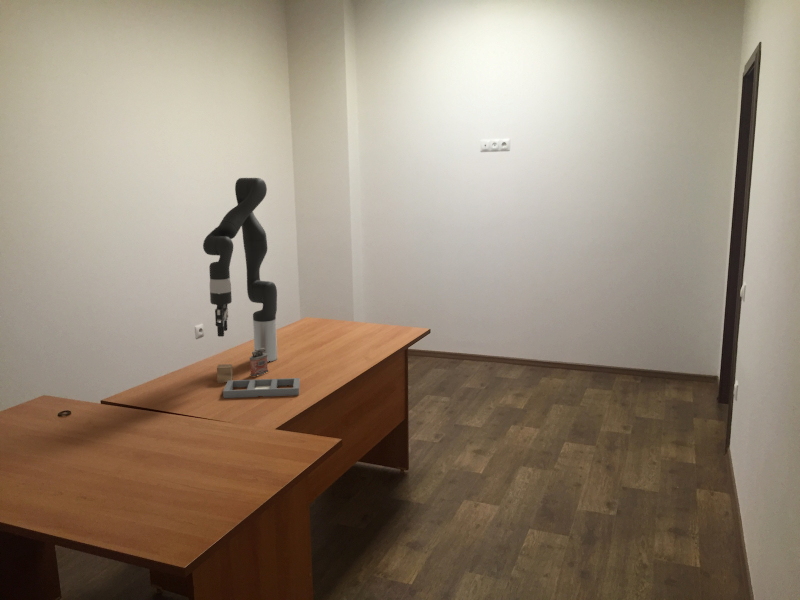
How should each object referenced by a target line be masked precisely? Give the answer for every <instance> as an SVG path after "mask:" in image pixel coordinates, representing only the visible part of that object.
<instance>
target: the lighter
mask: <svg viewBox="0 0 800 600" xmlns="http://www.w3.org/2000/svg"><path fill="white" fill-rule="evenodd" d="M265 351H266V350H265V348H262V349H260V350H258V349H256V350H255V351H254V350H253V351H251V354H252V356H250V357H249V366H250V373H249V374H250V375H251V376H257V375H260V376H262V375H261V374H264V373H266V372H268V373H269V369H268V362H267V356H268V354H267V353H263V352H265ZM266 374H267V373H266ZM264 375H265V374H264ZM251 376H250V377H251ZM257 377H258V376H257Z"/></svg>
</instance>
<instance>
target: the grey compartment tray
mask: <svg viewBox="0 0 800 600" xmlns="http://www.w3.org/2000/svg"><path fill="white" fill-rule="evenodd" d="M300 379H301V378H300V377H291V378H289V377H287V378H285V377H284V378H264V379H263V378H261V379H238V380H237V379H235V380H234V379H233V380H229V381H227V383H225V386H224V388H223V390H222V394H223V398H224V399H231V398H257V397H258V396H263V397H281V396H283V397H284V396H285V397H286V396H287V397H288V396H299V395H300V386H301V381H300ZM287 385H289V386H293V387H287ZM281 386H282V387H283V388H282V387H281ZM233 387H235V388H246V389H234V388H233ZM277 387H278V388H277ZM279 387H280V388H279Z"/></svg>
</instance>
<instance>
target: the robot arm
mask: <svg viewBox="0 0 800 600" xmlns="http://www.w3.org/2000/svg"><path fill="white" fill-rule="evenodd" d="M266 183H267V182H266V181H265V180H264V179H263V178H260V177H240V178H238V179H237V180H236V182H235V185H234V190H235V191H234V192H235V193H234V194H235V198H236V202H237V205H236V206H234V207H233V208H230V210H229V211H228V212H227V213H226V214H225V215H224V217H223V218H222V219H221V221H220V223H219V224H218V226H216V227H214V229H213V230H212V231H211V232H209V233H208V234H207V235H206V237H205V238H204V240H203V243H202V249H203V251H204V253H205V254H206V255H209V256H219V259H218V261H213V262H210V264H209V299H210V300H209V301H210V304H212V305H215V306H216V308H215V309H214V315H215V317H214V318H215V323H214V324H215V326H216V327H217V336H218V337H222V338H223V337H224V336H225V332H226V331H228V321H229V311H228V310H229V309H228V305H229V304H231V303H232V302H233V301H232V300H233V299H232V284H231V283H232V282H231V277H230V276H231V275H230V274H231V273H230V265H231V262H232V261H231V259H232V257H233V256H232V255H233V251H234V243H233V239H234V238H235V237H236V236H237V235H238V233H239V231H240V229H241V230H242V232H241V233H242V243H243V249H244V250H243V251H244V258H245V264H246V290H247V291H246V292H247V297H248V300H249V301H250V302H251V303H255V304H262V309H260V310H257V311H255V312H253V314H252V326H253V345H254V346H253V347H254V348H253V349H254V350H253V351H255V350H256V349H258V350H260V349H262V348H265V350H266V351H265V352H263V353H267V354H268V356H267V363H268V362H269V361H270V362H274V361H276V360H277V359H278V349H277V348H278V345H277V343H278V342H277V318H276V316H277V309H278V308H277V307H278V289H277V286H276V284H275V283H274V281H268V280H267V281H265V280H261V278H260V277H261V276H260V269H261V266H262V263H263V262H264V260H265V257H266V255H267V252H268V242H267V241H268V239H267V233H266V231H265V229H264V227H263V226H262V224H261V223H260V221H259V220H258V218H257V217H256V216H255V214H254V211H255V210H256V208H258V206H259V205H260V204H261V203H262V202H263V201H264V199H265V197H266V195H267V190H268V188H267V184H266Z"/></svg>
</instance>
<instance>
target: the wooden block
mask: <svg viewBox="0 0 800 600" xmlns="http://www.w3.org/2000/svg"><path fill="white" fill-rule="evenodd" d="M233 374H234V373H233V364H232V363H227V364H226V363H225V364H218V365H217V367H216V375H217V376H216V378H217V384H225V383H224V382H227V381H229V380H232V379H233V380H234V378H233V377H234V376H233Z"/></svg>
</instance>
